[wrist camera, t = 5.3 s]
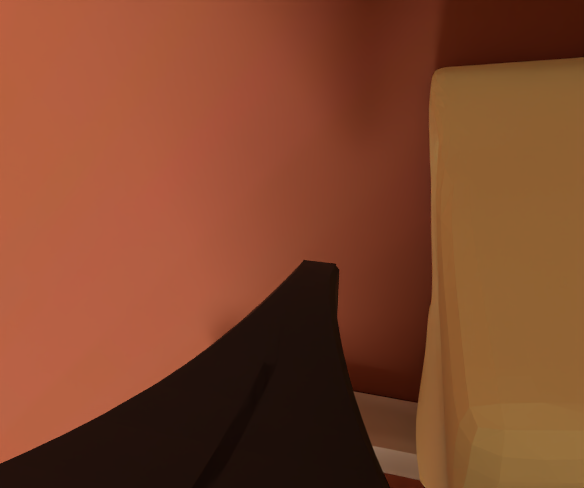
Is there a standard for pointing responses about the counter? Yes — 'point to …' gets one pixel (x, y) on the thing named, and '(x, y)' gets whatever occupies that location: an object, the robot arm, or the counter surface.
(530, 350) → the cheese
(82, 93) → the counter surface
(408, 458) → the lane rails
